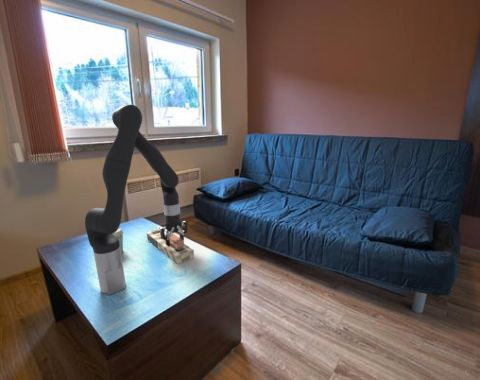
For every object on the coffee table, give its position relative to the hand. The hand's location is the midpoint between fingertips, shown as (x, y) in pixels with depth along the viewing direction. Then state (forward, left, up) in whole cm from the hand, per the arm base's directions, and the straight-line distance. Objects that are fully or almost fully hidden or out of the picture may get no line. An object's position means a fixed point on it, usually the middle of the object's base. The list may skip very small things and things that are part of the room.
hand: (175, 243), depth 130 cm
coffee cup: (+22, +22, -5) cm, 32 cm away
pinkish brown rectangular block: (0, 0, -5) cm, 5 cm away
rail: (+8, 0, -5) cm, 10 cm away
